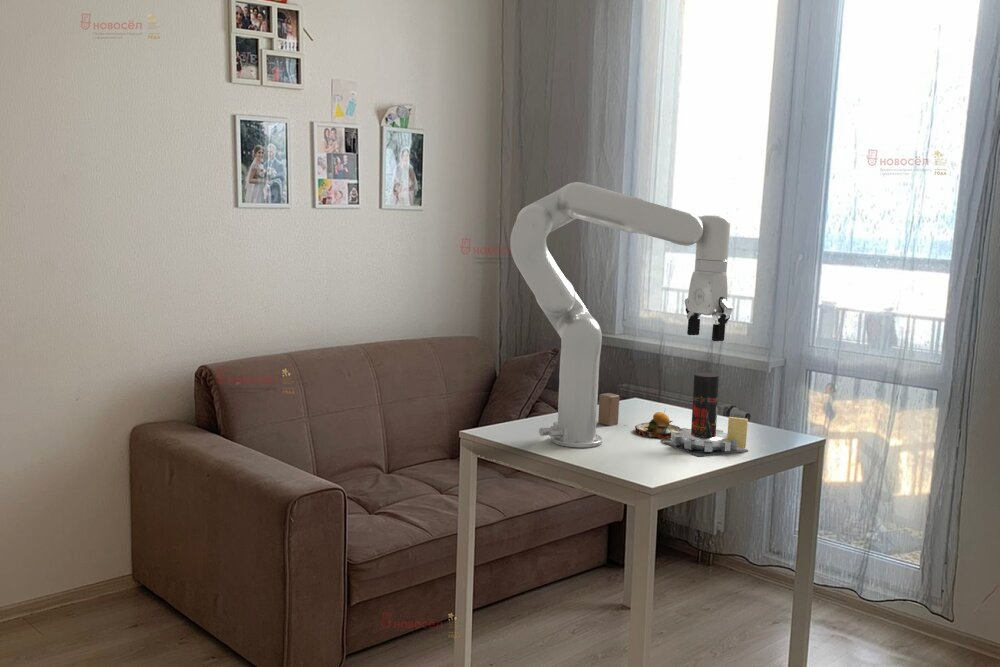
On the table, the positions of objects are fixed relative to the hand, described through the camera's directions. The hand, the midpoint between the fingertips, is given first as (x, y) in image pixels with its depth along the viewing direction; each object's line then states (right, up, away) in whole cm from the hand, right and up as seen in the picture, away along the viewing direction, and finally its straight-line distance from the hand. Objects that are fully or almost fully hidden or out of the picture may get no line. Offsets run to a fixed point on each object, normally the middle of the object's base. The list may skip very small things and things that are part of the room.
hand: (705, 337), depth 224 cm
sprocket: (+1, -26, +2) cm, 26 cm away
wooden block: (-21, -23, +23) cm, 39 cm away
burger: (-9, -25, +15) cm, 31 cm away
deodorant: (0, -24, +2) cm, 24 cm away
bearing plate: (0, -27, +3) cm, 27 cm away
